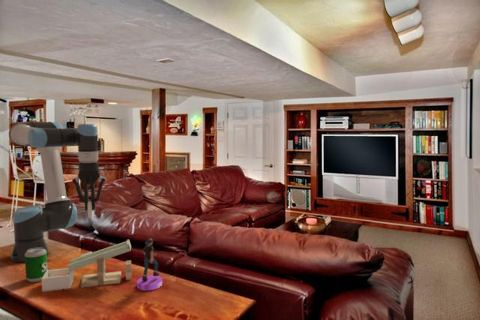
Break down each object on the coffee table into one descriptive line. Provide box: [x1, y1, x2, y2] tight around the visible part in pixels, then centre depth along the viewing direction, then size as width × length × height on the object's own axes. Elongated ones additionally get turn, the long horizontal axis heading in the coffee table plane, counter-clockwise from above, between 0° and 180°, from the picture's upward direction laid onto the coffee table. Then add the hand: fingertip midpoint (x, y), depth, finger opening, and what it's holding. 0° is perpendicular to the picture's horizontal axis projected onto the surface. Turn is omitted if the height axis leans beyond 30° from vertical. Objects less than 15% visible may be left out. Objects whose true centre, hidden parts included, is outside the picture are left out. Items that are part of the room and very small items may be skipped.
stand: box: [80, 256, 132, 288], centre depth 139 cm, size 8×18×11 cm, turn 106°
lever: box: [66, 239, 132, 272], centre depth 142 cm, size 14×23×3 cm, turn 106°
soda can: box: [24, 247, 49, 283], centre depth 141 cm, size 8×8×12 cm
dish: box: [41, 267, 75, 293], centre depth 135 cm, size 8×9×5 cm
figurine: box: [136, 237, 163, 291], centre depth 135 cm, size 9×9×18 cm
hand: (90, 217), depth 149 cm, fingers closed
